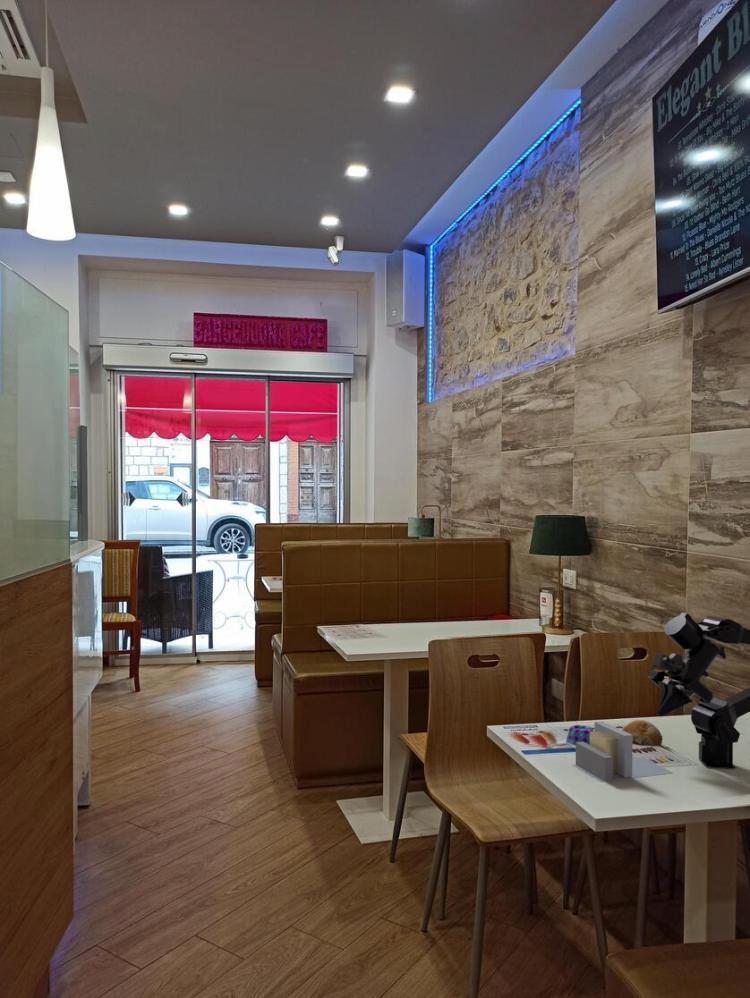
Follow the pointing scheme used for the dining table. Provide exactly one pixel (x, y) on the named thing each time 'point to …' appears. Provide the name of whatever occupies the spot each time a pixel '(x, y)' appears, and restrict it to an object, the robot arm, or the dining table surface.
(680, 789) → the dining table surface
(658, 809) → the dining table surface
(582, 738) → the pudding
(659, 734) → the bread roll
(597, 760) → the plate
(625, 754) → the sliding jaw
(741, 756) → the dining table surface
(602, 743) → the brass block
